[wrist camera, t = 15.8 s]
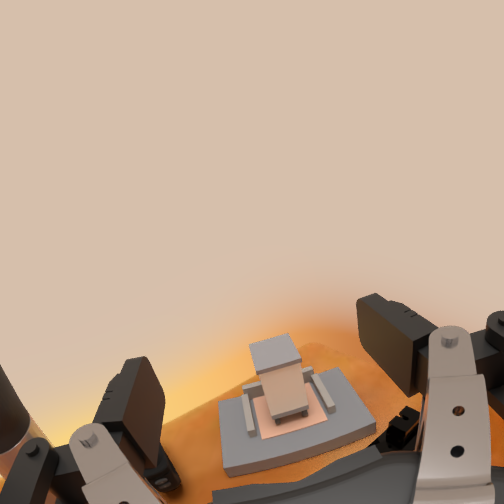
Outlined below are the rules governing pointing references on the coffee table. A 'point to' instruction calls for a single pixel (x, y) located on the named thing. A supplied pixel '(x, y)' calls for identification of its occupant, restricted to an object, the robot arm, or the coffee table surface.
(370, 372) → the coffee table surface
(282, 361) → the box with lid
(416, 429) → the black notched block
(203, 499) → the coffee table surface
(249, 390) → the dock
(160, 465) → the controller
